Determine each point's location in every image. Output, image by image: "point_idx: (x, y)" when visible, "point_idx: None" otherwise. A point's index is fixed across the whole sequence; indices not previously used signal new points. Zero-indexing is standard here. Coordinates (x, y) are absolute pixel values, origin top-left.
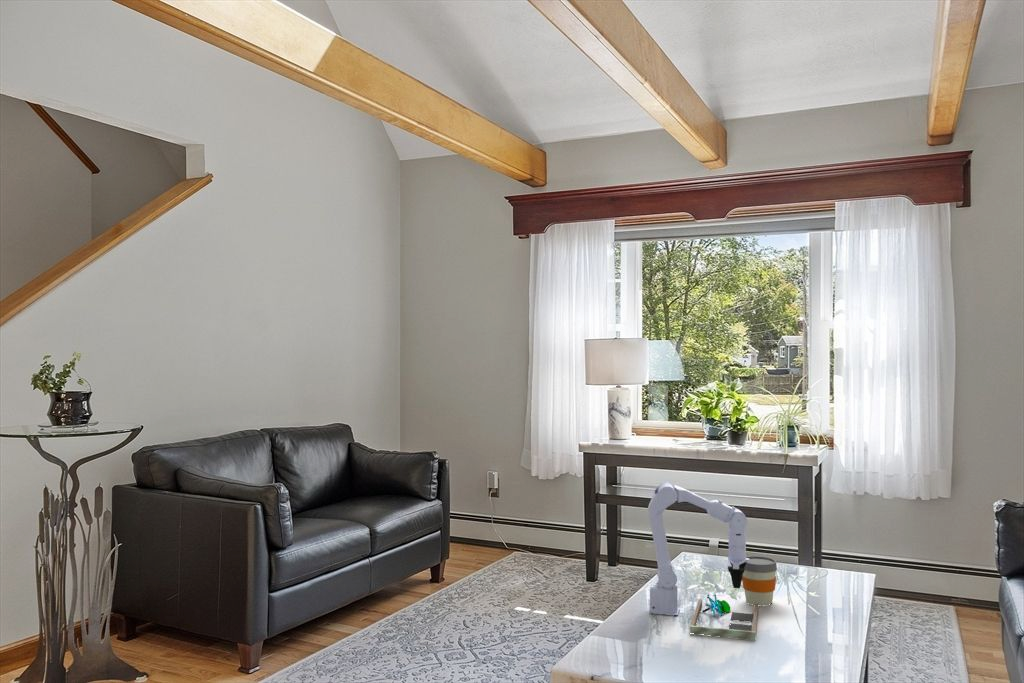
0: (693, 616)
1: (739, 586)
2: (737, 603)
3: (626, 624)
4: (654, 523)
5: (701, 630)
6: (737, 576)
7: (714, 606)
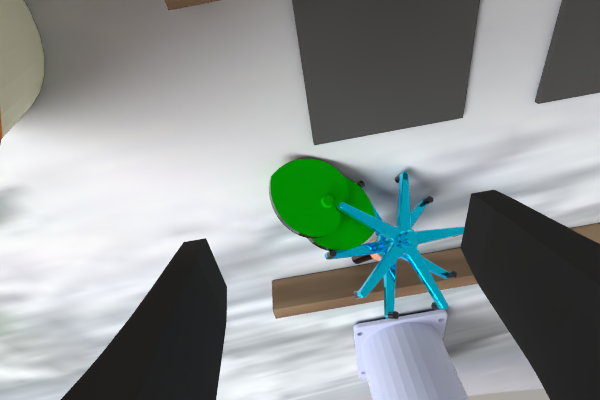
0: None
1: (514, 207)
2: (95, 161)
3: None
4: None
5: None
6: None
7: (436, 239)
